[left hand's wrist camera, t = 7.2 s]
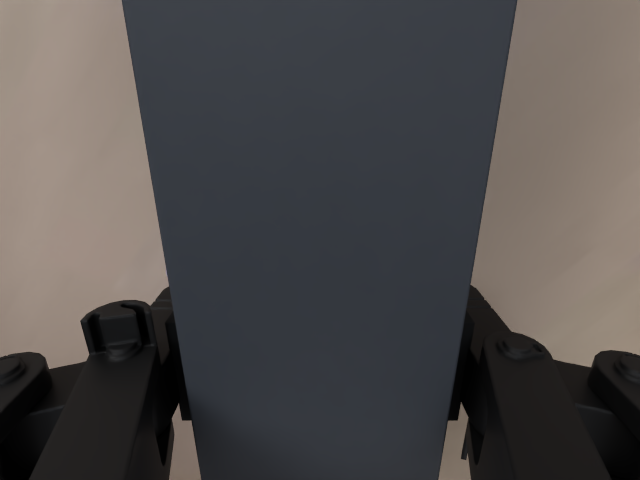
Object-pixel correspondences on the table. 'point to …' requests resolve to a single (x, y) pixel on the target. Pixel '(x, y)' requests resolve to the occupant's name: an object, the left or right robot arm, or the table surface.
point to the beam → (319, 219)
